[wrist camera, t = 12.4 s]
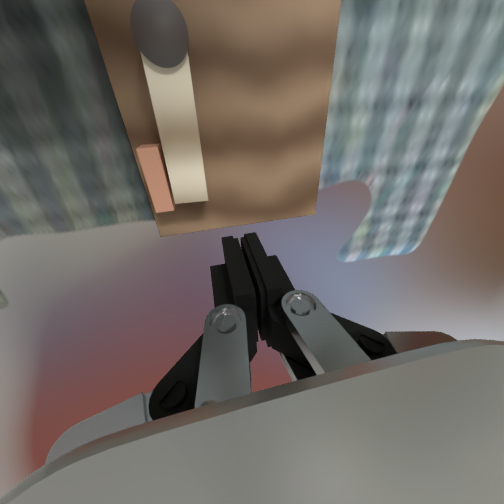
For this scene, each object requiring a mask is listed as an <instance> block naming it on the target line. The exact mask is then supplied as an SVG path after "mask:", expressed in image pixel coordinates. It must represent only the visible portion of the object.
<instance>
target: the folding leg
mask: <svg viewBox="0 0 504 504" xmlns="http://www.w3.org/2000/svg"><path fill="white" fill-rule="evenodd" d="M130 25H131V31H132V35H133V38H134V40H135V42H136V44H137V46H138V48H139V50H140V52H141V57H142V61H143V65H144V70H145V74H146V79H147V83H148V87H149V92H150V96H151V100H152V105H153V109H154V114H155V118H156V122H157V127H158V131H159V135H160V140H161V144H162V149H163V153H164V157H165V162H166V166H167V170H168V175H169V179H170V184H171V188H172V192H173V197H174V201H175V204H180V203H190V202H200V201H208V194H207V187H206V180H205V173H204V166H203V158H202V151H201V144H200V137H199V130H198V122H197V115H196V108H195V101H194V94H193V86H192V79H191V72H190V65H189V58H188V57H189V37H188V30H187V25H186V22H185V20H184V17H183V15H182V13H181V12H180V10H179V9H178V7H177V6H176V5H175V4H174V3H173V2H172V1H171V0H136V1H135V2H134V4H133V7H132V10H131V15H130Z"/></svg>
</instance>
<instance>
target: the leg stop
mask: <svg viewBox="0 0 504 504" xmlns="http://www.w3.org/2000/svg"><path fill="white" fill-rule="evenodd" d="M136 151H137V154H138V157H139V160H140V163H141V166H142V170H143V173H144V176H145V179H146V182H147V185H148V189H149V192H150V195H151V198H152V201H153V204H154V208H155V211H156V213H159V212H167V211H174V209H175V201H174V197H173V192H172V188H171V184H170V179H169V175H168V170H167V166H166V162H165V158H164V154H163V150H162V146H161V143H158V144H146V145H140V146H139V147H138V148H136Z"/></svg>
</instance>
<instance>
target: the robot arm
mask: <svg viewBox="0 0 504 504" xmlns="http://www.w3.org/2000/svg"><path fill="white" fill-rule="evenodd" d="M222 245H223V251H224V258H225V264H221V265H215V266H210V269H211V278H212V287H213V295H214V305H215V308H214V309H213V310H211V311H210V312H209V314H208V315H207V317H206V320H205V326H204V333H203V334H202V335H201V336H200V337H199V339H198V340H197V341H196V342H195V343H194V344H193V345H192V346H191V347H190V349H189V350H188V351H187V352H186V353H185V354H184V355H183V356H182V357H181V359H180V360H179V361H178V362H177V363H176V364H175V366H173V368H172V369H171V370H170V371H169V372H168V373H167V374H166V375H165V376H164V378H163V379H162V380H161V381H160V382H159V383H158V384H157V386H156V387H155V389H154V390H153V391H151V392H149V393H147V394H145V395H144V394H143V393H140V394H138V395H136V396H134V397H132V398H130V399H128V400H125V401H124V402H121V403H119V404H117V405H115V406H113V407H111V408H109V409H107V410H105V411H103V412H101V413H98V414H96V415H94V416H92V417H90V418H88V419H86V420H84V421H82V422H80V423H78V424H76V425H75V426H73V427H71V428H70V429H68V430H66V431H65V432H64V434H63V435H62V436H61V437H59V439H57V441H56V442H55V444H54V445H53V447H52V448H51V450H50V451H49V454H48V457H47V460H46V462H45V465H44V466H43V467H41V468H40V469H38V470H36V471H35V472H34V473H33V474H31V475H29V476H28V477H27V478H25V479H24V480H23V481H21V482H20V483H18V484H17V485H15V486H14V487H13V488H12V489H10V490H9V491H8V492H7V493H6V494H4V495H3V496H2V497H1V498H0V504H504V341H496V340H482V339H470V340H456V339H455V338H453V337H452V336H450V335H447V334H445V333H442V332H436V331H413V332H412V331H408V332H407V331H405V332H385V334H381V333H379V332H377V331H375V330H373V329H370V328H367V327H365V326H362V325H360V324H357V323H355V322H352V321H350V320H347V319H345V318H342V317H340V316H337V315H335V314H332V313H330V312H329V311H328V310H327V309H326V308H325V306H324V305H323V304H322V303H321V302H320V301H319V299H318V298H317V297H316V296H314V295H313V294H311V293H309V292H307V291H303V290H295V289H294V287H293V285H292V284H291V281H290V280H289V278H288V276H287V274H286V272H285V271H284V269H283V267H282V265H281V263H280V261H279V260H278V258H277V256H275V255H273V256H267V255H266V253H265V250H264V248H263V246H262V244H261V242H260V240H259V238H258V236H257V234H256V233H255V232H254V233H248V234H244V237H242V238H241V247H240V244H239V241H238V238H235V239H234V238H233V236H229V237H222ZM257 327H258V328H257ZM258 330H259V334H260V338H261V340H266V343H267V346H268V347H270V346H272V348H273V349H275V350H277V351H278V352H279V354H280V356H281V359H282V361H283V363H284V365H285V367H286V369H287V371H288V372H289V374H290V376H291V378H292V380H293V382H290V383H287V384H283V385H279V386H275V387H272V388H268V389H264V390H261V391H257V392H253V393H252V386H251V371H250V362H251V360H252V359H253V357H254V356H255V354H256V352H257V345H256V344H257V343H256V342H258Z"/></svg>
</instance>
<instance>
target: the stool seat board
mask: <svg viewBox="0 0 504 504" xmlns="http://www.w3.org/2000/svg"><path fill="white" fill-rule="evenodd" d="M135 1H136V0H84V2H85V5H86V8H87V11H88V14H89V17H90V20H91V23H92V26H93V29H94V33H95V36H96V39H97V42H98V45H99V48H100V51H101V54H102V57H103V60H104V63H105V66H106V70H107V73H108V76H109V79H110V82H111V85H112V88H113V91H114V94H115V97H116V100H117V103H118V107H119V110H120V113H121V116H122V119H123V122H124V125H125V128H126V131H127V134H128V137H129V140H130V144H131V147H132V150H133V153H134V156H135V159H136V162H137V165H138V168H139V171H140V174H141V177H142V181H143V184H144V187H145V190H146V193H147V196H148V199H149V202H150V205H151V208H152V211H153V214H154V218H155V221H156V224H157V226H158V229H159V233H160V236H161V237H162V236H168V235H176V234H183V233H189V232H197V231H204V230H211V229H217V228H224V227H231V226H238V225H244V224H252V223H258V222H265V221H272V220H279V219H286V218H293V217H300V216H307V215H314V214H315V210H316V201H317V194H318V186H319V178H320V170H321V161H322V153H323V145H324V137H325V129H326V121H327V113H328V104H329V96H330V88H331V80H332V72H333V64H334V56H335V47H336V39H337V31H338V23H339V15H340V7H341V0H171V1H172V2H173V3H174V4H175V5H176V6H177V7H178V9H179V10H180V12H181V13H182V15H183V17H184V20H185V22H186V25H187V30H188V37H189V57H188V58H189V65H190V72H191V79H192V86H193V94H194V101H195V108H196V115H197V122H198V130H199V137H200V144H201V151H202V158H203V166H204V173H205V180H206V187H207V194H208V201H200V202H190V203H180V204H175V209H174V211H167V212H159V213H156V211H155V208H154V204H153V201H152V198H151V195H150V192H149V189H148V185H147V182H146V179H145V176H144V173H143V170H142V166H141V163H140V160H139V157H138V154H137V151H136V148H138V147H139V146H140V145H146V144H158V143H161V140H160V135H159V131H158V127H157V122H156V118H155V114H154V109H153V105H152V100H151V96H150V92H149V87H148V83H147V79H146V74H145V70H144V65H143V61H142V57H141V52H140V50H139V48H138V46H137V44H136V42H135V40H134V38H133V35H132V31H131V25H130V15H131V10H132V7H133V4H134V2H135ZM161 146H162V144H161ZM162 150H163V149H162ZM163 154H164V153H163ZM164 158H165V157H164Z"/></svg>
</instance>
